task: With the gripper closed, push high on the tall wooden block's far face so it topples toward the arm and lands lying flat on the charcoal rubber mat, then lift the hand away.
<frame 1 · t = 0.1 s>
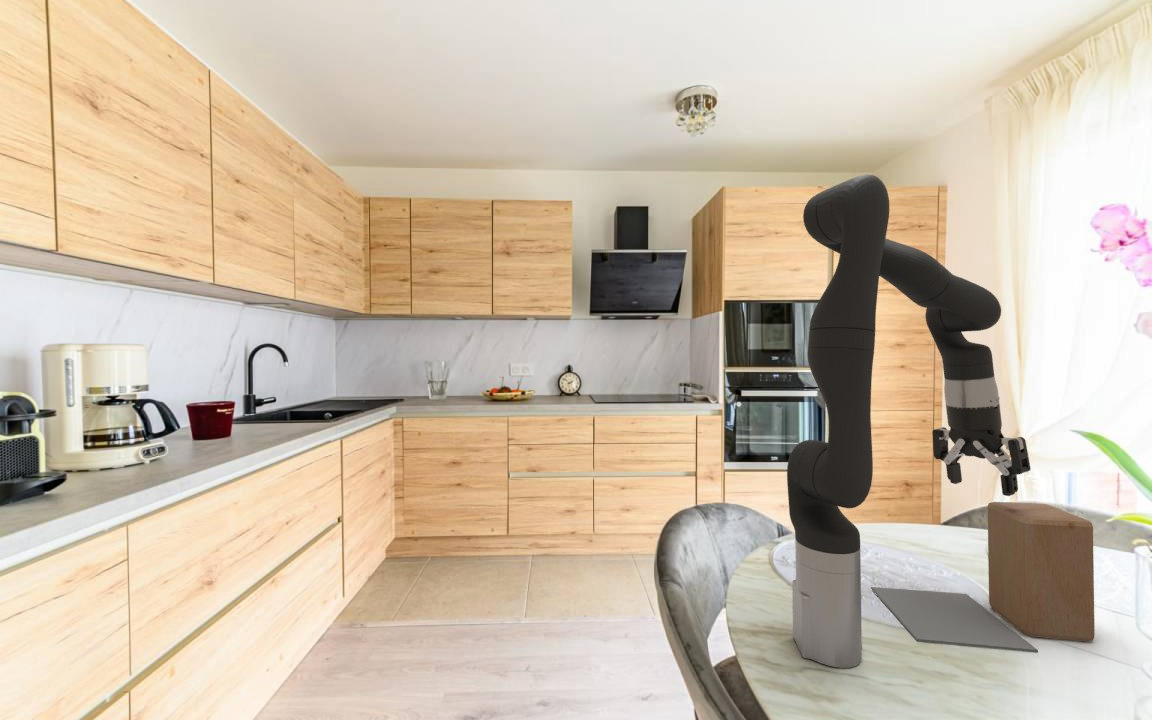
hand: (981, 488, 86), 22 cm above the table, tool pointing down, fingers open, 8 cm apart
wooden block: (1038, 625, 82), on the table
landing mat: (943, 616, 84), on the table
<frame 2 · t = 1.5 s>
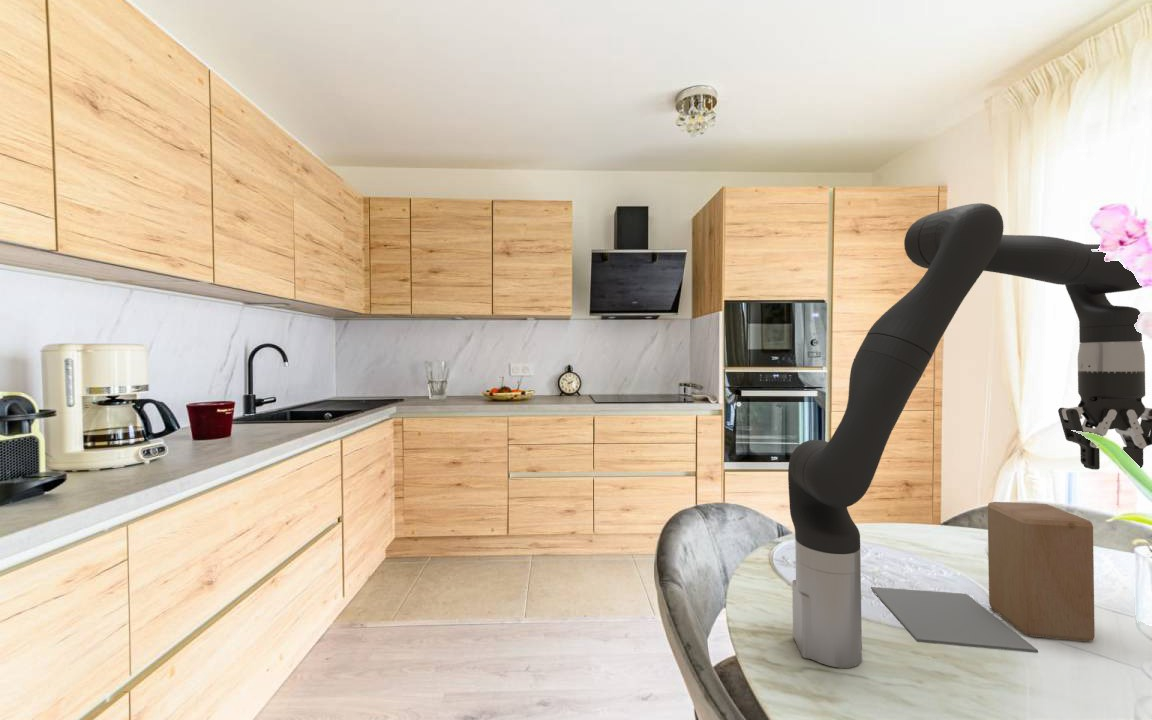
hand: (1111, 468, 79), 27 cm above the table, tool pointing down, fingers open, 5 cm apart
nothing on the table moved.
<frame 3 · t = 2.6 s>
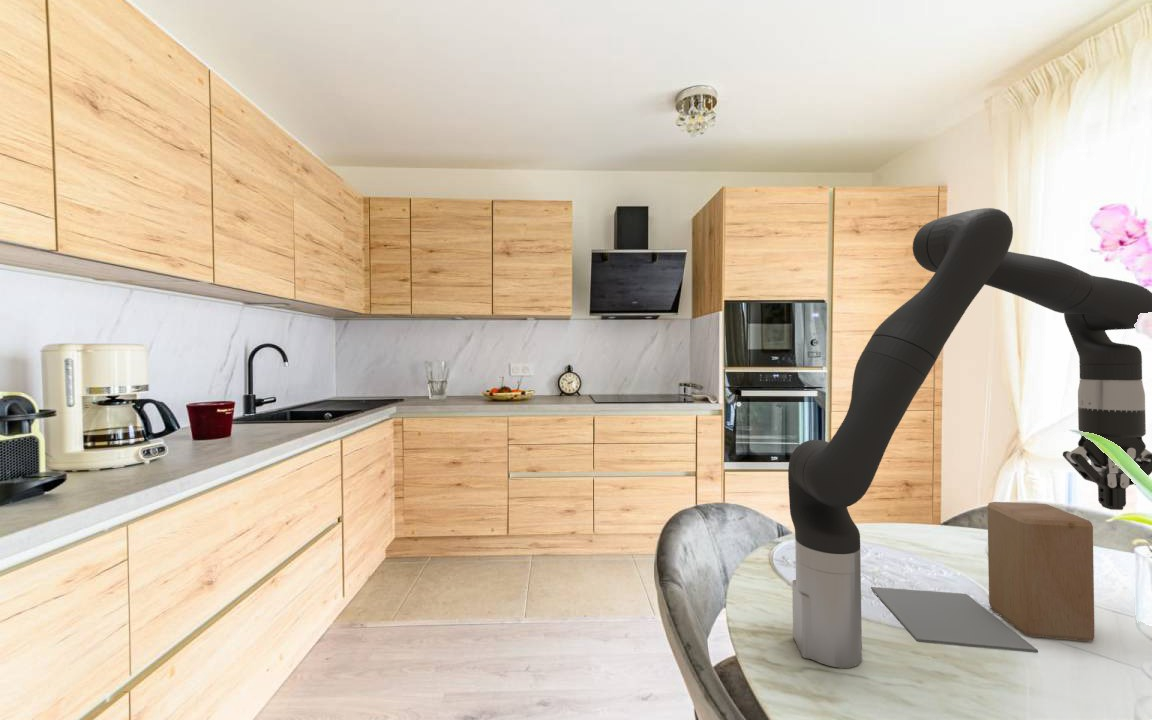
hand: (1112, 508, 79), 21 cm above the table, tool pointing down, fingers closed
nothing on the table moved.
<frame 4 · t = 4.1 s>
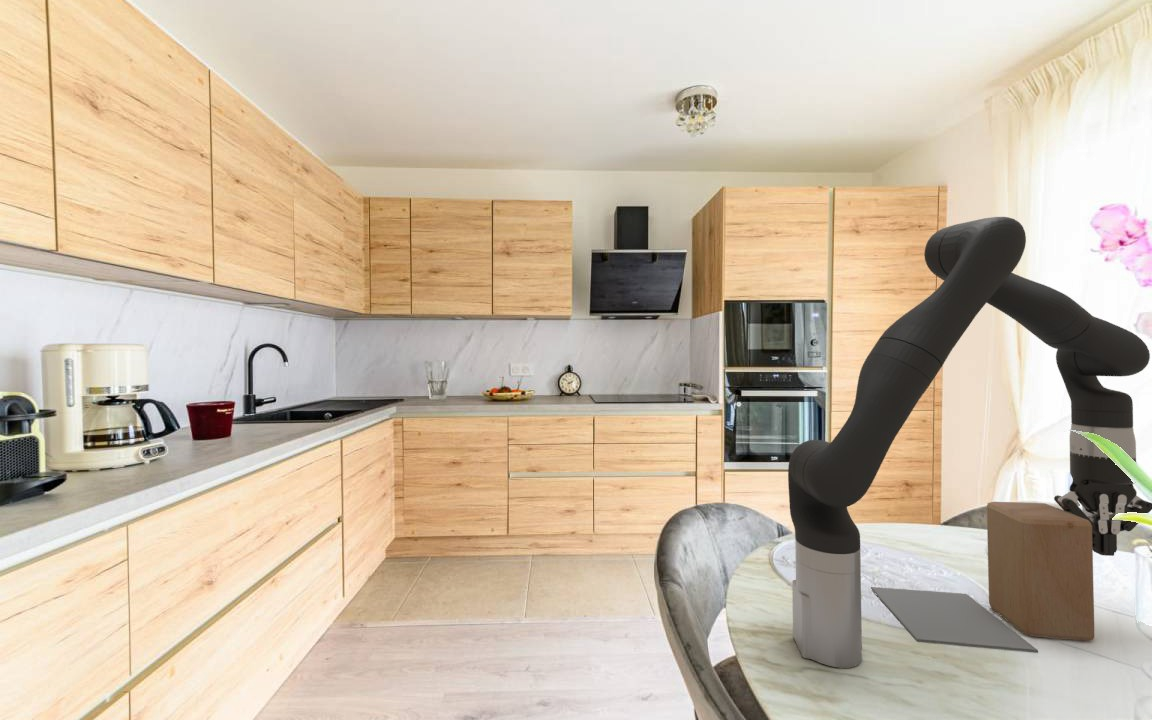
hand: (1103, 553, 80), 13 cm above the table, tool pointing down, fingers closed
wooden block: (1038, 625, 82), on the table, touching hand
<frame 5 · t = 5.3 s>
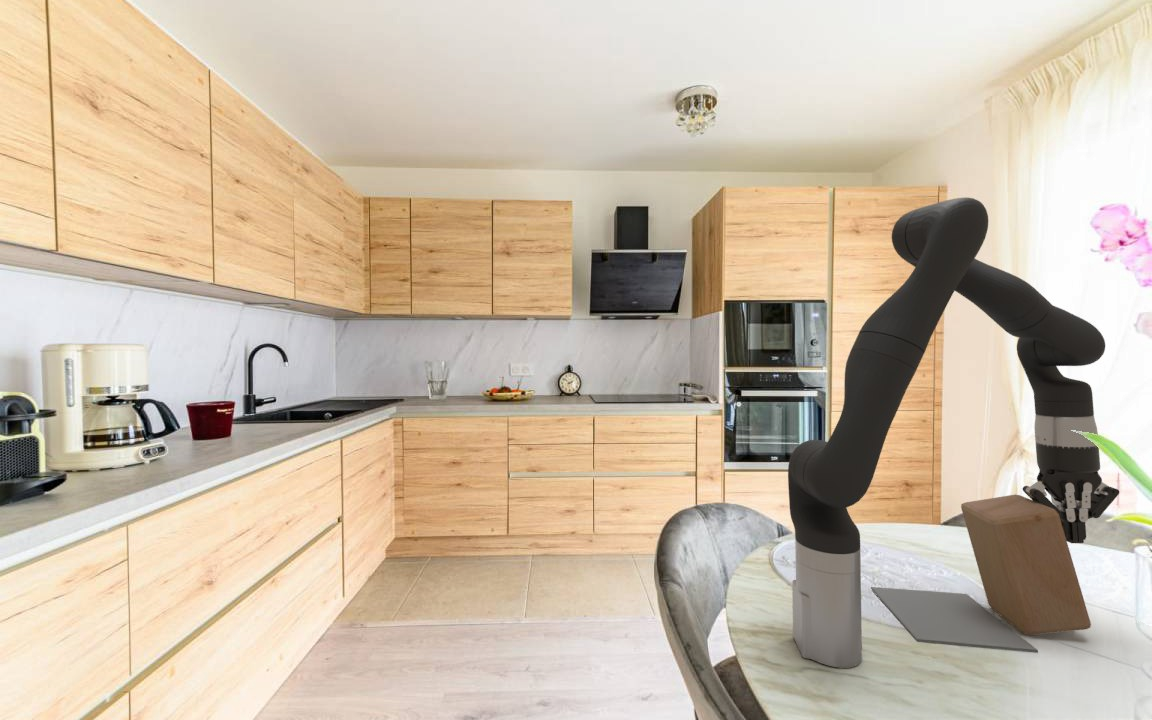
hand: (1073, 541, 80), 15 cm above the table, tool pointing down, fingers closed
wooden block: (1038, 619, 81), point 1 cm above the table, touching hand
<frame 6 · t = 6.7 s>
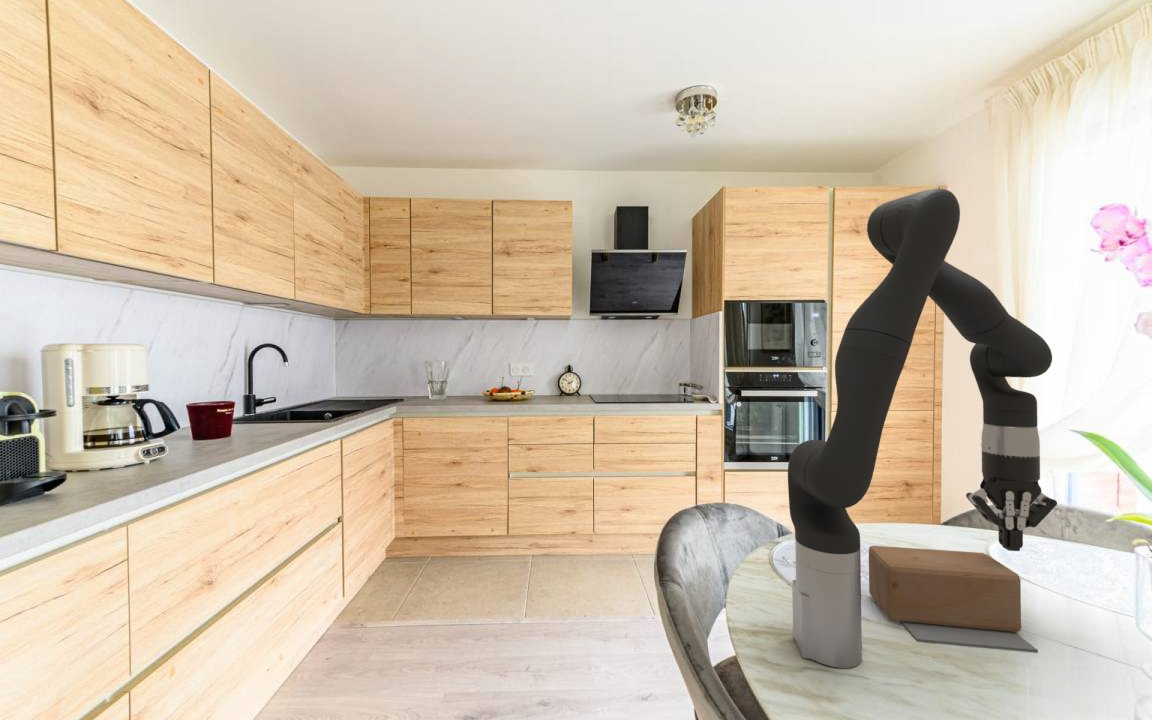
hand: (1010, 549, 82), 13 cm above the table, tool pointing down, fingers closed
wooden block: (1005, 590, 83), point 5 cm above the table, touching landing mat
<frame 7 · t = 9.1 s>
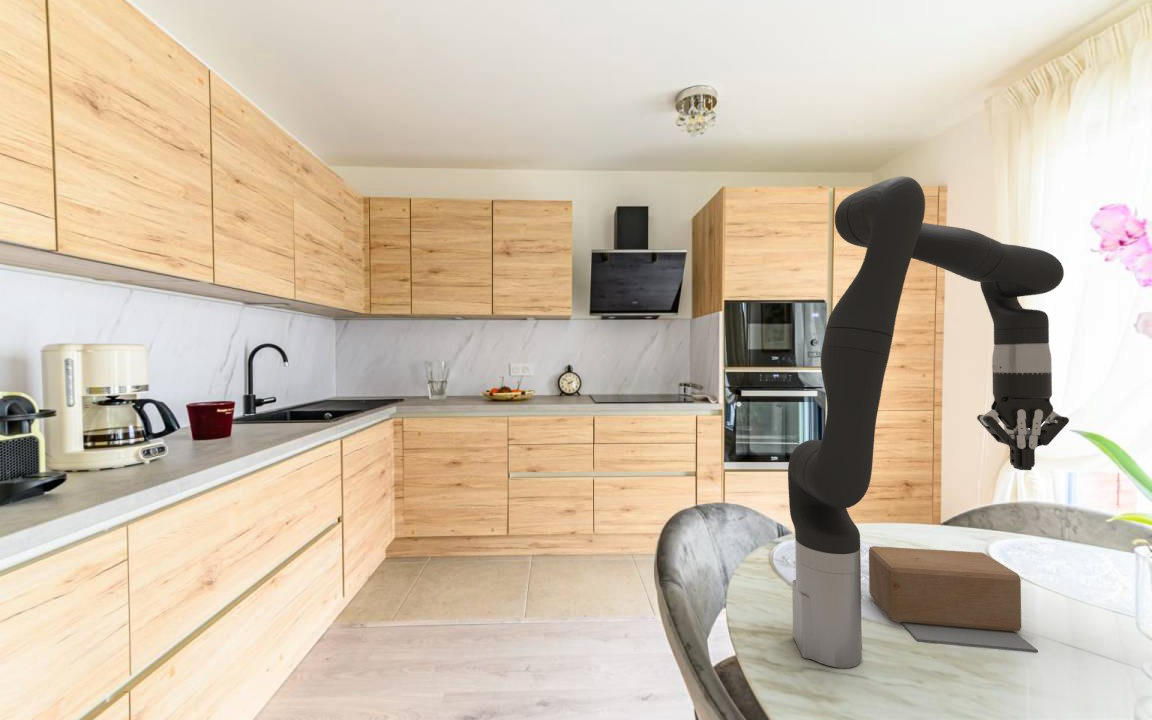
hand: (1022, 469, 82), 27 cm above the table, tool pointing down, fingers closed
nothing on the table moved.
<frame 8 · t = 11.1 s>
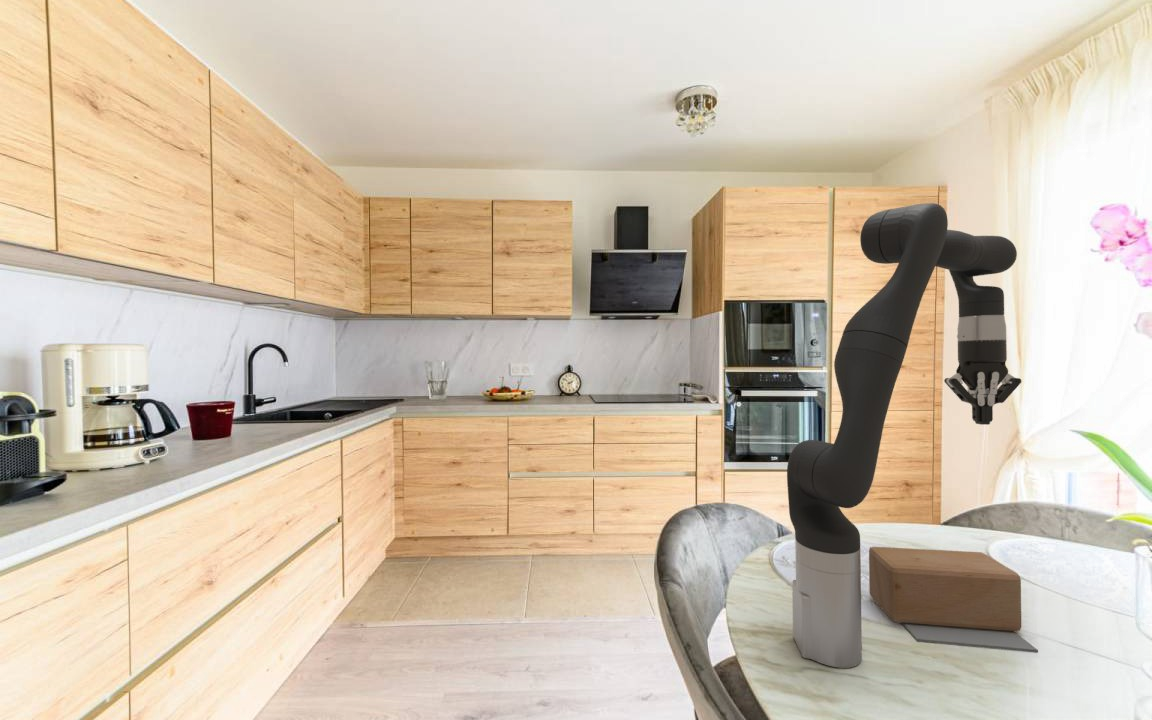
hand: (982, 423, 95), 33 cm above the table, tool pointing down, fingers closed
nothing on the table moved.
at the end: wooden block tilted 90°; wooden block touching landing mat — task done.
